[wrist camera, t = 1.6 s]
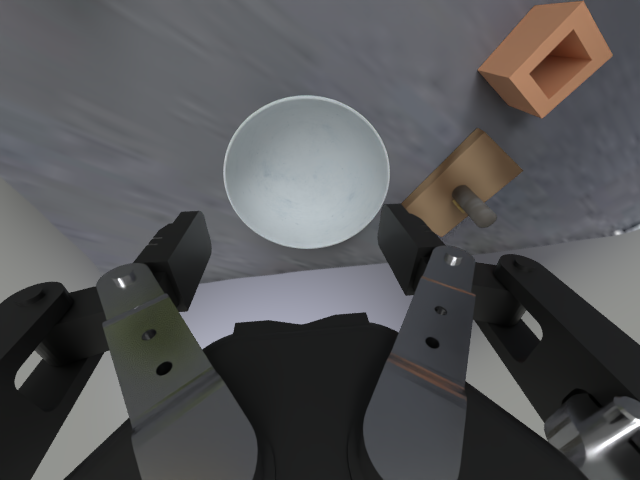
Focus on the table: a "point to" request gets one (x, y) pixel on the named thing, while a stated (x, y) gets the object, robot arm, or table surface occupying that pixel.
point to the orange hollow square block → (546, 57)
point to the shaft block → (463, 185)
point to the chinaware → (306, 172)
